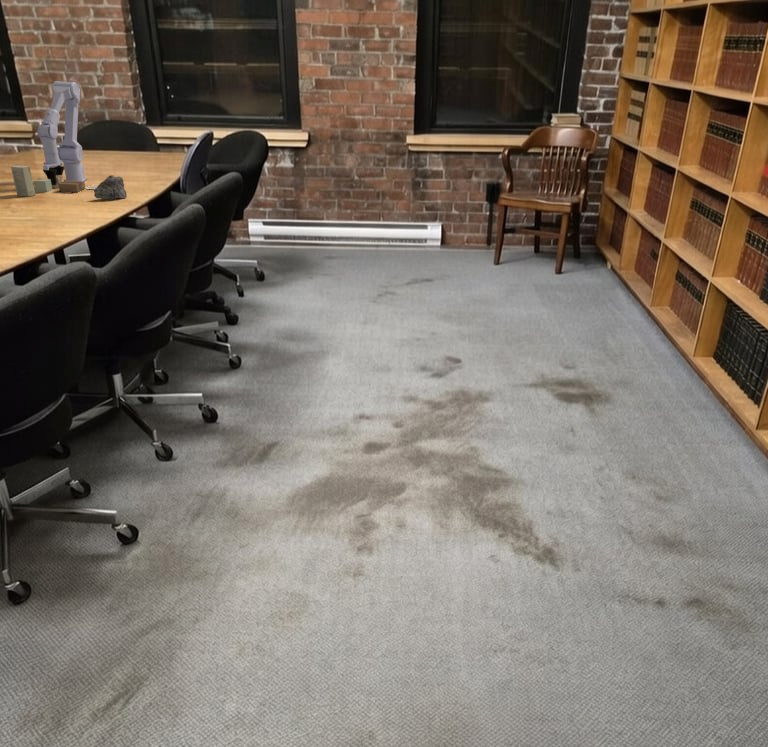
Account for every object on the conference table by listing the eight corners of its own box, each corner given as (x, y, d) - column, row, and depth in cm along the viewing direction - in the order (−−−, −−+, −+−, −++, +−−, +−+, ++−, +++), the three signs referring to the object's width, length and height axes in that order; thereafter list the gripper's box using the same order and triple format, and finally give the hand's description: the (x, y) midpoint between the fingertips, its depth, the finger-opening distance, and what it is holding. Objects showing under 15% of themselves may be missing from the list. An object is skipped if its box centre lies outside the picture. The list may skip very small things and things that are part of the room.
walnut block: (68, 189, 300) (66, 180, 298) (85, 190, 300) (84, 181, 298) (60, 192, 293) (58, 183, 291) (77, 193, 292) (76, 184, 291)
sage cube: (41, 190, 295) (39, 178, 292) (52, 190, 295) (50, 179, 292) (35, 192, 290) (33, 180, 288) (47, 192, 290) (45, 181, 288)
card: (91, 185, 309) (91, 184, 308) (106, 185, 309) (106, 184, 308) (82, 189, 300) (82, 188, 299) (97, 190, 300) (97, 188, 299)
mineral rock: (94, 202, 279) (91, 177, 274) (95, 196, 288) (91, 173, 283) (127, 201, 283) (124, 177, 279) (126, 195, 292) (123, 172, 288)
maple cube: (54, 185, 304) (52, 174, 301) (64, 186, 304) (63, 175, 301) (48, 188, 299) (46, 176, 297) (59, 188, 299) (57, 177, 297)
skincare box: (36, 195, 285) (30, 166, 279) (28, 197, 281) (23, 167, 275) (23, 193, 286) (18, 164, 281) (16, 195, 282) (10, 166, 277)
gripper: (49, 150, 301) (55, 180, 307) (34, 154, 288) (39, 186, 294) (65, 150, 301) (70, 181, 307) (50, 155, 288) (55, 187, 294)
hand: (56, 183), depth 301 cm, fingers closed on maple cube, 5 cm apart
